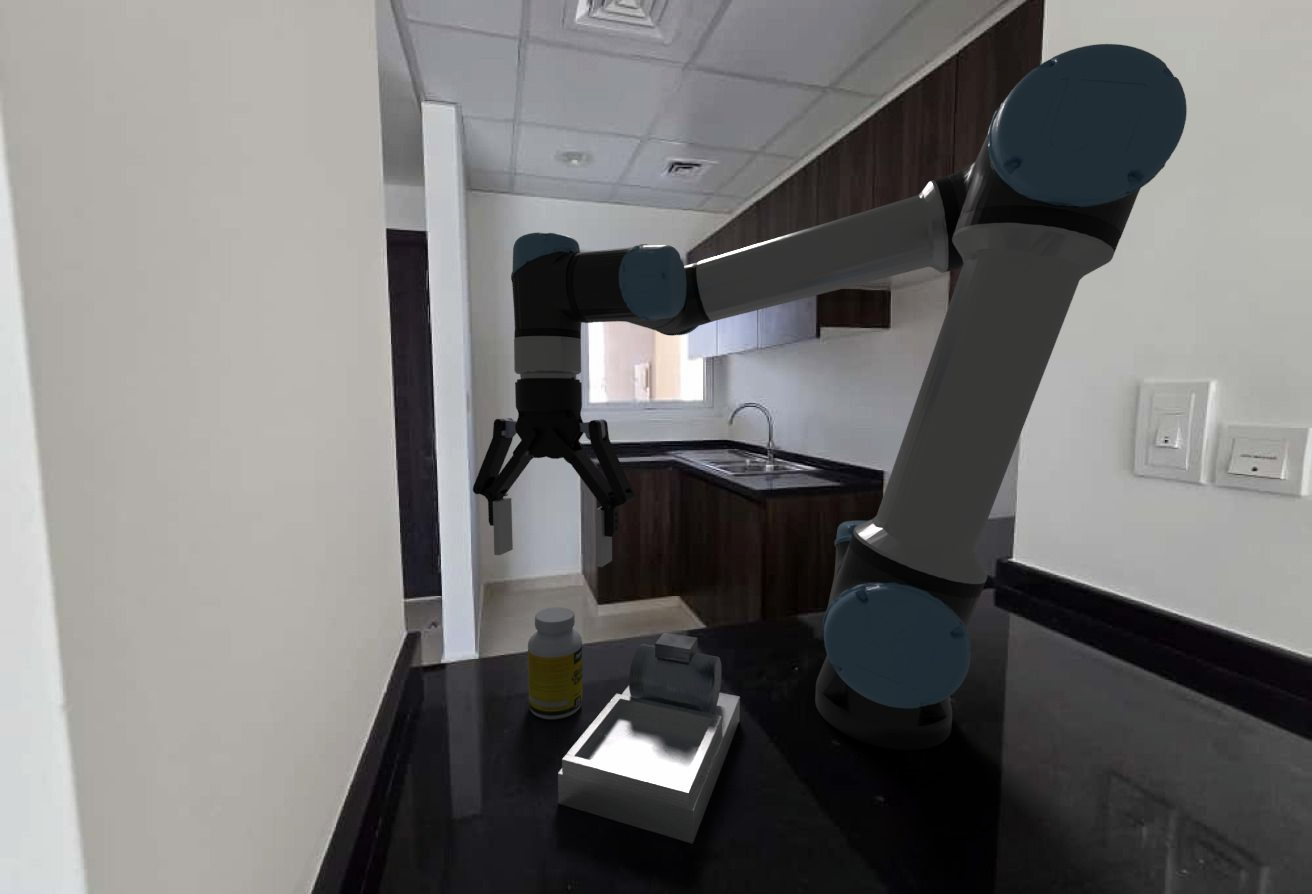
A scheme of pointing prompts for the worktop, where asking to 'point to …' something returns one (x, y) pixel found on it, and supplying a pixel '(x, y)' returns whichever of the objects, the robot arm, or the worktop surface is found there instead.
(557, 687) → the pill bottle
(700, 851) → the worktop surface
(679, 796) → the motor base
